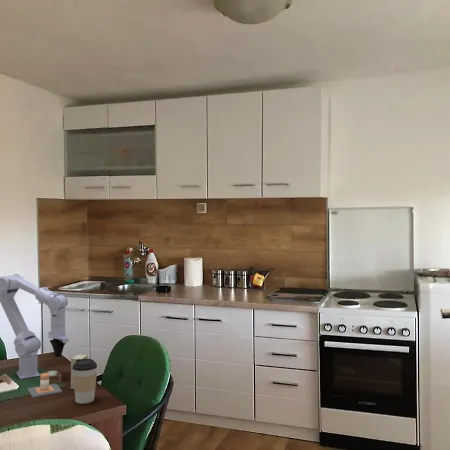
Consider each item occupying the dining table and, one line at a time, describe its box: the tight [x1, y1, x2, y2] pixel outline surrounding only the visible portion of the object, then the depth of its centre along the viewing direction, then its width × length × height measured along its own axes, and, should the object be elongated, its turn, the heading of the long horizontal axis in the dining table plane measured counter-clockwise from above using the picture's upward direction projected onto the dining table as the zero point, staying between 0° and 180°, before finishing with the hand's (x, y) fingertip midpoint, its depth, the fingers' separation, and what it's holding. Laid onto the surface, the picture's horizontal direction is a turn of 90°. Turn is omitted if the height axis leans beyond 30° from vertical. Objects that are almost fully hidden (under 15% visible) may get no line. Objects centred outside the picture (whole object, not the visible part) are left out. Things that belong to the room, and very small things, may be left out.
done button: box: [46, 370, 58, 376], centre depth 208 cm, size 4×4×3 cm
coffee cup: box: [72, 358, 98, 405], centre depth 188 cm, size 9×9×15 cm
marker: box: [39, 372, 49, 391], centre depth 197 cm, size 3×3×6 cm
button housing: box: [49, 370, 62, 384], centre depth 208 cm, size 6×6×3 cm
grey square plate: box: [27, 383, 63, 399], centre depth 197 cm, size 10×11×1 cm
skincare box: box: [70, 354, 88, 390], centre depth 202 cm, size 6×4×12 cm
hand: (58, 356), depth 211 cm, fingers closed
